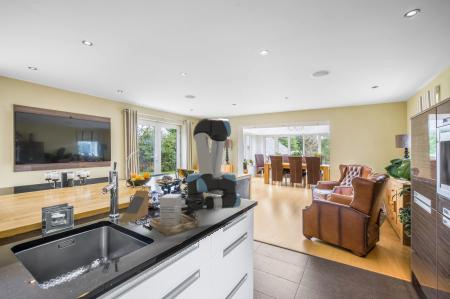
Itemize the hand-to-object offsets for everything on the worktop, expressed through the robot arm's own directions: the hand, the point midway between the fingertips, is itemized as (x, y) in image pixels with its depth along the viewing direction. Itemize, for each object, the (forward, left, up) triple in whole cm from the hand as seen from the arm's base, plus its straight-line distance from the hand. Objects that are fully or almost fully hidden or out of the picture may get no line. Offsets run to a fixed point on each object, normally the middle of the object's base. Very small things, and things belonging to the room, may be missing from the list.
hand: (173, 206), depth 111 cm
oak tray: (0, 0, -10) cm, 11 cm away
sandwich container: (+11, -30, -11) cm, 34 cm away
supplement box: (+1, -1, -10) cm, 10 cm away
